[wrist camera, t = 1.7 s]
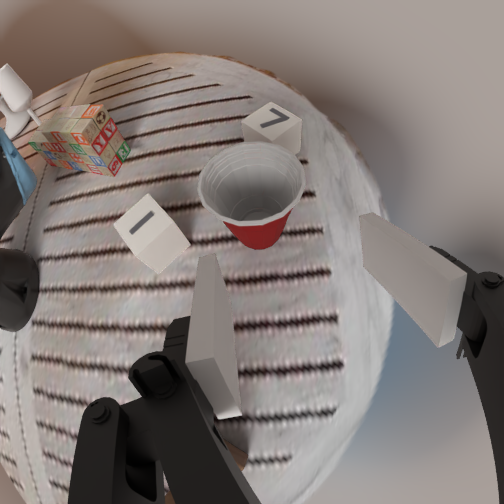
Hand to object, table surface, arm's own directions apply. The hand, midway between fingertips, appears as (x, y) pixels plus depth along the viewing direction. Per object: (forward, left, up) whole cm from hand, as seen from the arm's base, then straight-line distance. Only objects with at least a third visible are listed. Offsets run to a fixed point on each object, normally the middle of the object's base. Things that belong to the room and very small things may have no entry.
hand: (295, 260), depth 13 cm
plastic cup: (-11, +6, -22) cm, 26 cm away
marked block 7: (-19, +17, -22) cm, 34 cm away
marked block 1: (-19, -5, -22) cm, 30 cm away
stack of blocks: (-47, -6, -23) cm, 53 cm away
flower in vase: (-89, -19, -22) cm, 94 cm away
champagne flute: (-71, -11, -22) cm, 75 cm away
